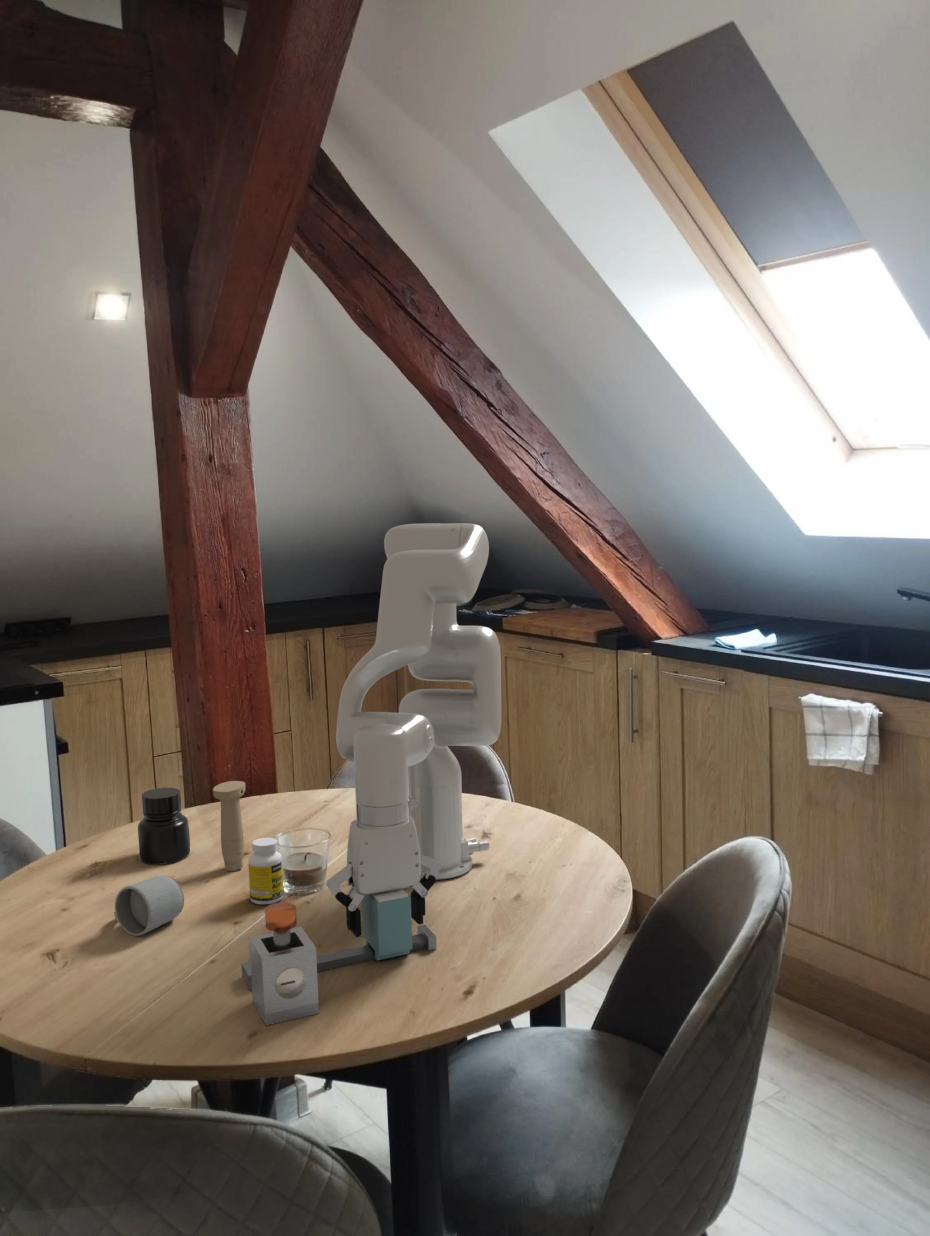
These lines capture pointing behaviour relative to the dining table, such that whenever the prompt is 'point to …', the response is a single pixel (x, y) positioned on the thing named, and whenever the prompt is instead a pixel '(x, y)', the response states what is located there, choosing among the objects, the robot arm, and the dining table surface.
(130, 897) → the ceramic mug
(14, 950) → the dining table surface
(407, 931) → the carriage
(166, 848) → the ink bottle
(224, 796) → the handle
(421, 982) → the dining table surface
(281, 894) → the supplement bottle
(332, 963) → the rail
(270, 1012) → the grey button box
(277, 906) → the plunger
